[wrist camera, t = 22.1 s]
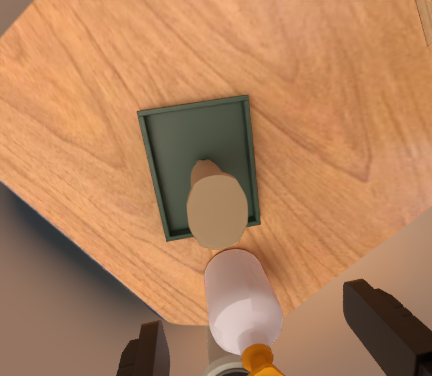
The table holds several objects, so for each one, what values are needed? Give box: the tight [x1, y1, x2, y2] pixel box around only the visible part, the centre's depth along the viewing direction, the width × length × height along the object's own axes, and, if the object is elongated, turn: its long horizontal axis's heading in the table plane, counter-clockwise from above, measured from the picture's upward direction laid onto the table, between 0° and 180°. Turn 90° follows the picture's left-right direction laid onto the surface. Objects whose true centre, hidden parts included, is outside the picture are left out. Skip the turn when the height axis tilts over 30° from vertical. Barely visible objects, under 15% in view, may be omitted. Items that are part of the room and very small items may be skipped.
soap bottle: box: [204, 249, 285, 376], centre depth 30 cm, size 9×9×25 cm
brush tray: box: [137, 95, 261, 242], centre depth 35 cm, size 17×13×2 cm
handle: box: [187, 159, 248, 250], centre depth 28 cm, size 5×6×15 cm
